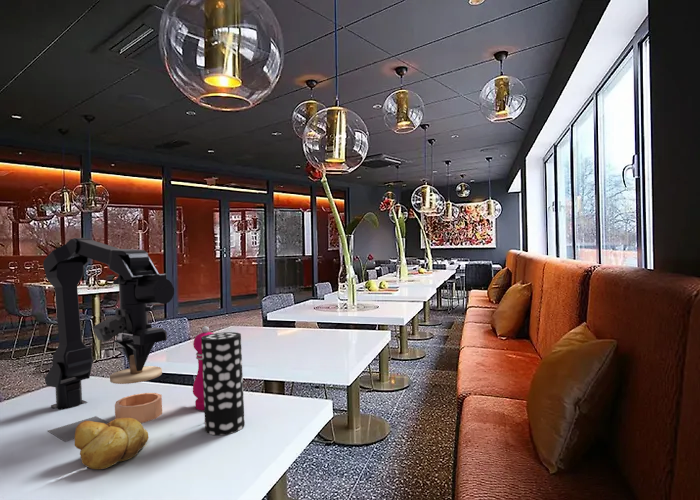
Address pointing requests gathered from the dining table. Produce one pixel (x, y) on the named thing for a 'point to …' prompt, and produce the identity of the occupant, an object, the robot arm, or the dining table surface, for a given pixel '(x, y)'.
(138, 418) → the bowl
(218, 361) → the white-spotted black cylinder
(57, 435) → the mat
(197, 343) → the pepper mill
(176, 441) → the dining table surface
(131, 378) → the lid
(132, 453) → the bread roll
